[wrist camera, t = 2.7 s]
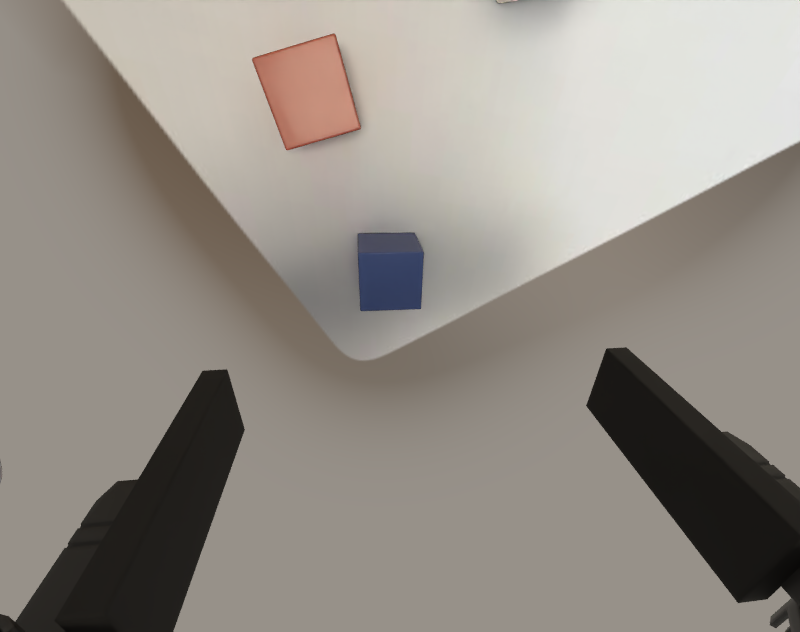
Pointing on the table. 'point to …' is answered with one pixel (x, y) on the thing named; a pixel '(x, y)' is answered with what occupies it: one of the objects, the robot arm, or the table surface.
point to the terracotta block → (308, 91)
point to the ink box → (503, 0)
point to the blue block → (390, 271)
